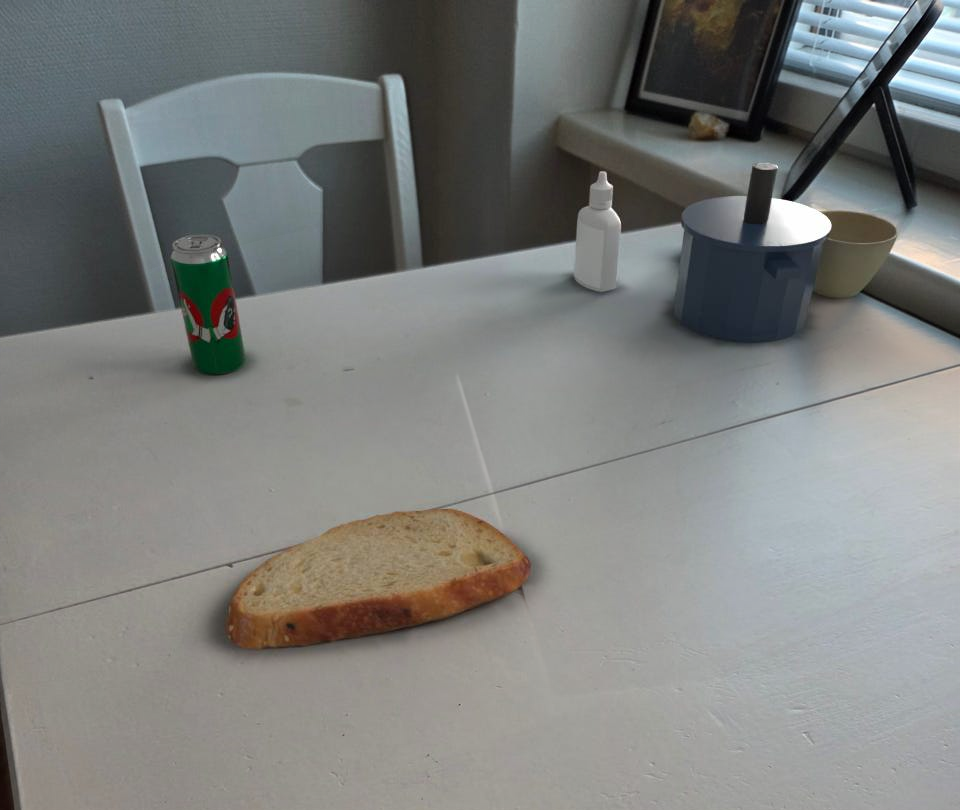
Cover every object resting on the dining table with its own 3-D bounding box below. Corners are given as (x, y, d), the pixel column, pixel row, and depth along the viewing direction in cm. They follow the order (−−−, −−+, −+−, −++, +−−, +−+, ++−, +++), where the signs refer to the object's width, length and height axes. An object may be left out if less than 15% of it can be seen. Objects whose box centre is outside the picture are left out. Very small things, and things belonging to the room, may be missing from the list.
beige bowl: (787, 305, 107) (801, 237, 102) (788, 270, 114) (801, 206, 109) (883, 313, 105) (902, 245, 100) (878, 278, 112) (895, 213, 108)
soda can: (248, 354, 98) (227, 231, 90) (245, 377, 94) (223, 251, 86) (196, 356, 98) (171, 233, 90) (191, 380, 94) (164, 254, 86)
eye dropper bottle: (577, 295, 109) (585, 181, 101) (572, 275, 113) (579, 164, 105) (617, 294, 109) (627, 180, 101) (610, 274, 113) (619, 163, 105)
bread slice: (203, 638, 66) (192, 595, 64) (338, 501, 78) (334, 461, 76) (443, 716, 61) (441, 673, 58) (548, 557, 73) (550, 515, 70)
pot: (766, 279, 112) (783, 192, 106) (836, 352, 98) (860, 256, 92) (651, 286, 111) (661, 198, 104) (705, 362, 97) (720, 265, 90)
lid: (794, 204, 105) (807, 141, 101) (853, 254, 94) (870, 186, 90) (662, 211, 103) (669, 147, 99) (707, 263, 92) (717, 194, 88)
